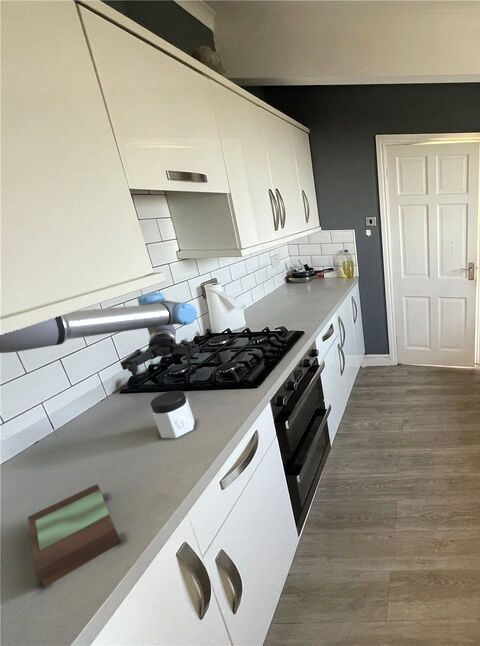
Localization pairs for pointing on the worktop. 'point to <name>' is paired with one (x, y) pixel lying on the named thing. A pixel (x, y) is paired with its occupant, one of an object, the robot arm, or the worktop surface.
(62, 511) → the green-topped wooden base
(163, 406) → the jar
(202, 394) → the worktop surface
